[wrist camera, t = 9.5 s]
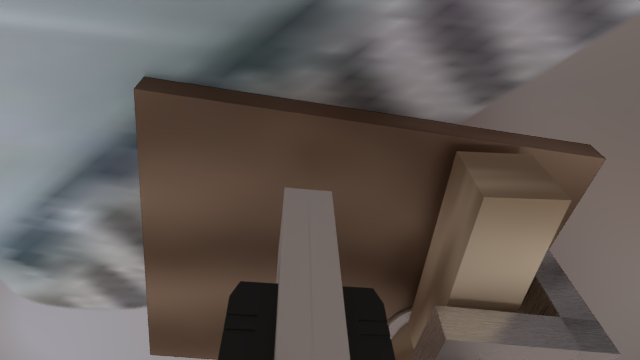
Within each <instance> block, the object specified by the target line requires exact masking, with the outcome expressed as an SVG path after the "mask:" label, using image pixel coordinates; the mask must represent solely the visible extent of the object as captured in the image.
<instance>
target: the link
mask: <svg viewBox="0 0 640 360" xmlns="http://www.w3.org/2000/svg"><path fill="white" fill-rule="evenodd" d="M571 201H572V200H571V199H570V198H569V197H568V196H567V194H566V193H565V192H564V191H563V190H562V189H561V188H560V186H559V185H558V184H557V183H556V182H555V181H554V180H553V178H552V177H551V176H550V175H549V174H548V173H547V171H546V170H545V169H544V168H543V167H542V166H541V165H540V163H539V162H538V161H537V160H536V159H535V158H534V157H533V155H532V154H509V153H485V152H462V151H457V152H456V155H455V159H454V162H453V166H452V170H451V173H450V177H449V180H448V184H447V187H446V191H445V194H444V198H443V201H442V205H441V209H440V212H439V216H438V219H437V223H436V226H435V230H434V233H433V237H432V240H431V244H430V248H429V251H428V255H427V258H426V262H425V265H424V269H423V272H422V276H421V279H420V283H419V287H418V290H417V294H416V297H415V301H414V304H413V308H412V311H411V315H410V318H409V322H408V325H407V326H405V327H403V328H402V329H400V330H399V331H398V332H397V333H396V334H395V335H394V336H393V337H392V339H391V341H392V346H393V350H394V355H395V360H413V356H412V352H413V350H414V348H415V346H416V344H417V342H418V340H419V338H420V335H421V333H422V331H423V329H424V327H425V325H426V323H427V321H428V319H429V317H430V315H431V313H432V311H433V309H434V307H435V305H437V306H448V307H459V308H469V309H480V310H490V311H501V312H511V313H517V311H518V309H519V307H520V305H521V303H522V301H523V299H524V297H525V295H526V293H527V291H528V289H529V287H530V285H531V283H532V281H533V279H534V277H535V274H536V272H537V270H538V268H539V266H540V264H541V262H542V260H543V258H544V256H545V254H546V252H547V250H548V248H549V246H550V244H551V242H552V240H553V238H554V235H555V233H556V231H557V229H558V227H559V225H560V223H561V221H562V219H563V217H564V215H565V213H566V211H567V209H568V207H569V205H570V203H571Z"/></svg>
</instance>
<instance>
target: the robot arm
mask: <svg viewBox="0 0 640 360" xmlns="http://www.w3.org/2000/svg"><path fill="white" fill-rule="evenodd" d="M218 360H395V355H394V350H393V346H392V341H391V339H390V331H389V326H388V325H387V317H386V312H385V307H384V303H383V302H382V300H381V299H380V297H379V296H378V295H377V293H376V292H375V290H374V289H373V288H362V287H346V286H342V280H341V271H340V261H339V252H338V243H337V234H336V225H335V215H334V206H333V197H332V191H321V190H309V189H297V188H285V189H284V200H283V210H282V220H281V230H280V240H279V250H278V264H277V280H276V283H263V282H246V281H240V282H239V283H238V285H237V286H236V288H235V289H234V290H233V292H232V293H231V294H230V296H229V301H228V306H227V312H226V317H225V323H224V329H223V334H222V340H221V345H220V351H219V356H218Z"/></svg>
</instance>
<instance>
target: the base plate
mask: <svg viewBox="0 0 640 360" xmlns="http://www.w3.org/2000/svg"><path fill="white" fill-rule="evenodd" d="M134 100H135V116H136V132H137V149H138V165H139V181H140V197H141V213H142V229H143V245H144V261H145V278H146V294H147V308H148V309H147V310H148V325H149V342H150V355H160V356H174V357H188V358H201V359H216V360H218V356H219V351H220V345H221V340H222V334H223V329H224V323H225V317H226V312H227V306H228V301H229V296H230V294H231V293H232V292H233V290H234V289H235V288H236V286H237V285H238V283H239V282H240V281H246V282H263V283H276V280H277V264H278V250H279V240H280V230H281V220H282V210H283V200H284V189H285V188H297V189H309V190H321V191H332V197H333V206H334V215H335V225H336V234H337V243H338V252H339V261H340V271H341V280H342V286H346V287H362V288H373V289H374V290H375V292H376V293H377V295H378V296H379V297H380V299H381V300H382V302H383V303H384V307H385V312H386V317H387V320H388V319H389V318H390V317H391V316H393V315H394V314H395V313H397V312H398V311H400V310H402V309H404V308H406V307H409V306H411V305H413V304H414V301H415V297H416V294H417V290H418V287H419V283H420V279H421V276H422V272H423V269H424V265H425V262H426V258H427V255H428V251H429V248H430V244H431V240H432V237H433V233H434V230H435V226H436V223H437V219H438V216H439V212H440V209H441V205H442V201H443V198H444V194H445V191H446V187H447V184H448V180H449V177H450V173H451V170H452V166H453V162H454V159H455V155H456V152H457V151H462V152H485V153H509V154H532V155H533V157H534V158H535V159H536V160H537V161H538V162H539V163H540V165H541V166H542V167H543V168H544V169H545V170H546V171H547V173H548V174H549V175H550V176H551V177H552V178H553V180H554V181H555V182H556V183H557V184H558V185H559V186H560V188H561V189H562V190H563V191H564V192H565V193H566V194H567V196H568V197H569V198H570V199H571V200H572V201H571V203H570V205H569V207H568V209H567V211H566V213H565V215H564V217H563V219H562V221H561V223H560V225H559V227H558V229H557V231H556V233H555V235H554V238H553V240H552V242H551V244H550V246H549V248H550V247H551V245H552V244H553V242H554V240H555V239H556V237H557V235H558V234H559V232H560V231H561V229H562V228H563V226H564V225H565V223H566V221H567V220H568V218H569V216H570V215H571V214H572V212H573V210H574V209H575V207H576V205H577V204H578V202H579V201H580V199H581V198H582V196H583V195H584V193H585V191H586V190H587V188H588V187H589V185H590V183H591V182H592V180H593V179H594V177H595V176H596V174H597V172H598V171H599V169H600V167H601V166H602V165H603V163H604V161H605V160H606V158H605V157H603V156H602V155H601V154H600V153H599V152H598V151H597V150H595V149H594V148H593V147H592V146H591V145H588V144H581V143H575V142H568V141H561V140H555V139H548V138H542V137H535V136H528V135H522V134H516V133H509V132H502V131H496V130H489V129H483V128H476V127H469V126H463V125H456V124H450V123H443V122H437V121H430V120H423V119H417V118H410V117H404V116H397V115H390V114H384V113H377V112H371V111H364V110H357V109H351V108H344V107H338V106H331V105H325V104H318V103H311V102H305V101H298V100H292V99H285V98H278V97H272V96H265V95H259V94H252V93H246V92H239V91H232V90H226V89H219V88H213V87H206V86H199V85H193V84H186V83H180V82H173V81H166V80H160V79H153V78H147V77H143V79H142V80H141V81H140V82H139V83H138V85H137V86H136V87H135V88H134ZM549 248H548V249H549Z"/></svg>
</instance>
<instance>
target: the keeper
mask: <svg viewBox="0 0 640 360" xmlns="http://www.w3.org/2000/svg"><path fill="white" fill-rule="evenodd" d="M412 308H413V305H411V306H409V307H406V308H404V309H402V310H400V311H398V312H397V313H395V314H394V315H393V316H391V317H390V318H389V319H388V320H387V325H388V326H389V331H390V339H392V337H393V336H394V335H395V334H396V333H397V332H398V331H399V330H400V329H402V328H403V327H405V326H407V325H408V322H409V318H410V315H411V311H412ZM619 355H621V354H620V353H619V351H618V350H617V348H616V347H615V345H614V344H613V342H612V341H611V339H610V338H609V337H608V335H607V334H606V332H605V331H604V329H603V328H602V326H601V325H600V324H599V322H598V321H597V319H596V318H595V316H594V315H593V313H592V312H591V311H590V309H589V308H588V306H587V305H586V303H585V302H584V300H583V299H582V297H581V296H580V294H579V293H578V292H577V290H576V289H575V287H574V286H573V284H572V283H571V281H570V280H569V279H568V277H567V276H566V274H565V273H564V271H563V270H562V268H561V267H560V265H559V264H558V263H557V261H556V260H555V258H554V257H553V255H552V254H551V252H550V251H549V249H548V250H547V252H546V254H545V256H544V258H543V260H542V262H541V264H540V266H539V268H538V270H537V272H536V274H535V277H534V279H533V281H532V283H531V285H530V287H529V289H528V291H527V293H526V295H525V297H524V299H523V301H522V303H521V305H520V307H519V309H518V311H517V313H511V312H501V311H490V310H480V309H469V308H459V307H448V306H437V305H435V307H434V309H433V311H432V313H431V315H430V317H429V319H428V321H427V323H426V325H425V327H424V329H423V331H422V333H421V335H420V338H419V340H418V342H417V344H416V346H415V348H414V350H413V352H412V356H413V360H616V359H617V358H618V357H619Z"/></svg>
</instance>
